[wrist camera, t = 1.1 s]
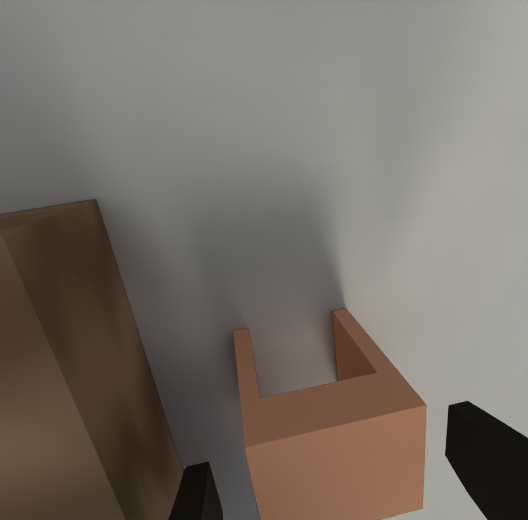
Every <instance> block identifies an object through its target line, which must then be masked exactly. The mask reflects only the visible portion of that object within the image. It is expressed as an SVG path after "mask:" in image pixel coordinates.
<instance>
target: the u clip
mask: <svg viewBox="0 0 528 520" xmlns="http://www.w3.org/2000/svg"><path fill="white" fill-rule="evenodd" d="M332 313H333V325H334V338H335V350H336V363H337V375H338V381H337V382H333V383H328V384H324V385H319V386H315V387H310V388H306V389H301V390H297V391H292V392H288V393H283V394H279V395H274V396H270V397H265V398H261V397H260V392H259V386H258V381H257V375H256V370H255V365H254V359H253V354H252V348H251V343H250V337H249V332H248V328H245V329H240V330H235V331H233V333H234V344H235V354H236V365H237V375H238V385H239V396H240V406H241V417H242V427H243V438H244V448H245V452H246V457H247V461H248V466H249V470H250V475H251V479H252V484H253V489H254V493H255V498H256V502H257V507H258V511H259V516H260V520H381V519H385V518H389V517H393V516H396V515H400V514H404V513H408V512H412V511H415V510H419V509H423V491H424V463H425V435H426V407H427V405H426V404H425V403H424V401H423V400H422V399H421V398H420V397H419V395H418V394H417V393H416V392H415V391H414V389H413V388H412V387H411V386H410V385H409V383H408V382H407V381H406V380H405V379H404V377H403V376H402V375H401V374H400V373H399V371H398V370H397V369H396V368H395V366H394V365H393V364H392V363H391V362H390V360H389V359H388V358H387V357H386V356H385V354H384V353H383V352H382V351H381V350H380V348H379V347H378V346H377V345H376V344H375V342H374V341H373V340H372V339H371V338H370V336H369V335H368V334H367V333H366V332H365V330H364V329H363V328H362V327H361V326H360V324H359V323H358V322H357V321H356V320H355V318H354V317H353V316H352V315H351V314H350V312H349V311H348V310H347V309H346V308H345V309H340V310H335V311H332Z"/></svg>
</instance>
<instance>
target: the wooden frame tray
mask: <svg viewBox="0 0 528 520" xmlns="http://www.w3.org/2000/svg"><path fill="white" fill-rule="evenodd" d="M182 475H183V471H182V468H181V464H180V461H179V458H178V455H177V452H176V449H175V446H174V442H173V439H172V436H171V433H170V430H169V427H168V424H167V421H166V417H165V414H164V411H163V408H162V405H161V402H160V399H159V396H158V392H157V389H156V386H155V383H154V380H153V377H152V374H151V370H150V367H149V364H148V361H147V358H146V355H145V352H144V349H143V345H142V342H141V339H140V336H139V333H138V330H137V327H136V324H135V320H134V317H133V314H132V311H131V308H130V305H129V302H128V298H127V295H126V292H125V289H124V286H123V283H122V280H121V277H120V273H119V270H118V267H117V264H116V261H115V258H114V255H113V252H112V248H111V245H110V242H109V239H108V236H107V233H106V230H105V226H104V223H103V220H102V217H101V214H100V211H99V208H98V205H97V201H96V199H93V200H87V201H81V202H74V203H68V204H62V205H56V206H49V207H43V208H37V209H31V210H24V211H18V212H12V213H6V214H0V520H168V519H169V516H170V513H171V510H172V507H173V504H174V501H175V498H176V495H177V492H178V489H179V486H180V482H181V479H182Z"/></svg>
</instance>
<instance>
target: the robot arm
mask: <svg viewBox="0 0 528 520" xmlns="http://www.w3.org/2000/svg"><path fill="white" fill-rule="evenodd" d="M445 456H446V457H447V459H448V461H449V462H450V464H451V466H452V468H453V469H454V471H455V473H456V474H457V476H458V478H459V479H460V481H461V483H462V484H463V486H464V487H465V489H466V491H467V492H468V494H469V495H470V496H471V498H472V499H473V501H474V502H475V503H476V505H477V506H478V507H479V509H480V510H481V512H482V513H483V514H484V516H485V517H486V518H487V520H528V438H527V437H525V436H524V435H522V434H521V433H519V432H517V431H516V430H514V429H513V428H511V427H509V426H508V425H506V424H505V423H503V422H501V421H500V420H498V419H497V418H495V417H493V416H492V415H490V414H488V413H487V412H485V411H484V410H482V409H480V408H479V407H477V406H475V405H474V404H472V403H470V402H469V401H465V402H461V403H456V404H452V405H449V408H448V422H447V436H446V450H445ZM168 520H223V512H222V507H221V503H220V500H219V496H218V493H217V489H216V486H215V482H214V478H213V475H212V471H211V468H210V464H209V462H204V463H200V464H196V465H192V466H187V467H186V469H185V470H184V472H183V475H182V479H181V482H180V486H179V489H178V492H177V495H176V498H175V501H174V504H173V507H172V510H171V513H170V516H169V519H168Z"/></svg>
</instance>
